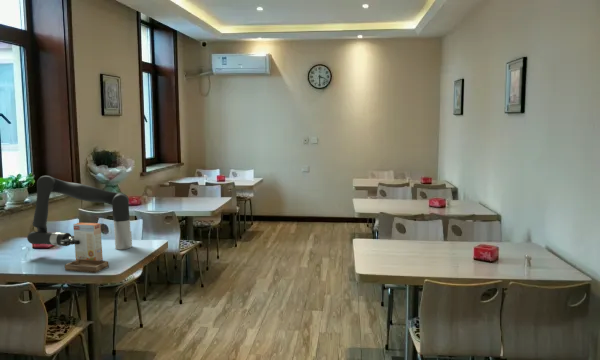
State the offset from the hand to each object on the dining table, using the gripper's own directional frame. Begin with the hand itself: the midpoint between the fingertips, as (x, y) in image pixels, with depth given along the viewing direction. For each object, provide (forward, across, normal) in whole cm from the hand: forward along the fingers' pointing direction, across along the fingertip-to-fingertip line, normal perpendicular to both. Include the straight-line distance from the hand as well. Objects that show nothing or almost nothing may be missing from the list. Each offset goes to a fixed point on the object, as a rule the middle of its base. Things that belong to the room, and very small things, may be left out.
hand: (84, 240), depth 281 cm
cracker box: (+2, 0, +11) cm, 11 cm away
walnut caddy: (+12, -14, +11) cm, 22 cm away
